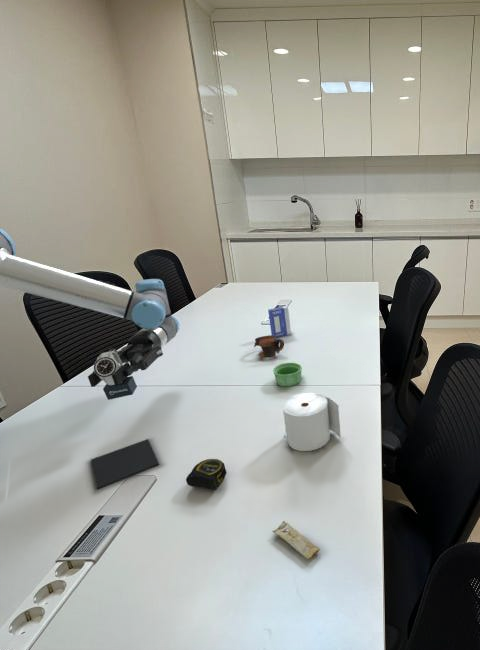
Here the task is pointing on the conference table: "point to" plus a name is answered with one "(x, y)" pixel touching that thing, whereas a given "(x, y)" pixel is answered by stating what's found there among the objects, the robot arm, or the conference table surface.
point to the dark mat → (123, 463)
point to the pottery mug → (269, 346)
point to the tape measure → (207, 474)
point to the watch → (105, 369)
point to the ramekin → (287, 374)
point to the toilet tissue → (310, 420)
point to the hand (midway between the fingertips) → (103, 380)
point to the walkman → (279, 321)
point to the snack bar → (296, 540)
